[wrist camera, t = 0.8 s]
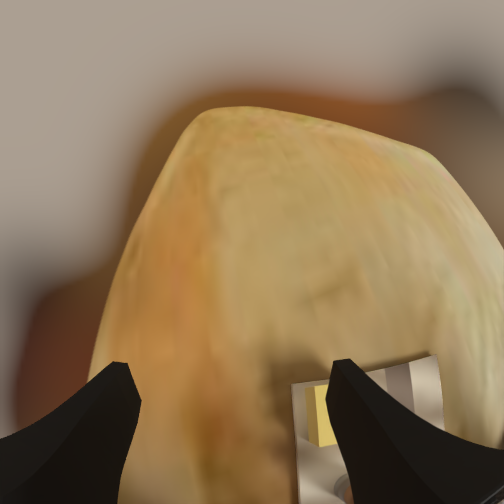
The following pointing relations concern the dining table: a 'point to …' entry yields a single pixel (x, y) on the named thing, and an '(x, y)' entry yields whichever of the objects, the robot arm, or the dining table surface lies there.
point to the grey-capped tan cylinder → (344, 489)
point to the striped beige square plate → (329, 457)
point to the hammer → (499, 496)
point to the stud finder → (318, 417)
